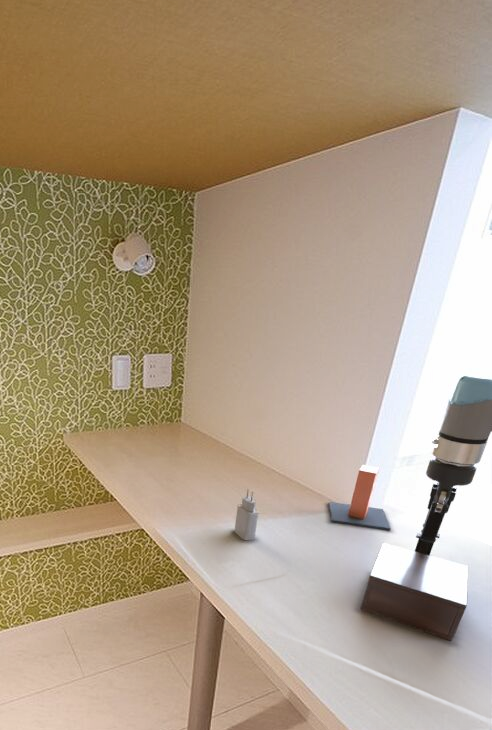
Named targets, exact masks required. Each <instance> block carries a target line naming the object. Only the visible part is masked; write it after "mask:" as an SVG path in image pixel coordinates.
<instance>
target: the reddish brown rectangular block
mask: <svg viewBox="0 0 492 730" xmlns="http://www.w3.org/2000/svg"><path fill="white" fill-rule="evenodd" d="M379 471H380V468H379V467H376V466H370V465H366V464H362V465H361V467H360V469H358V473H357V477H356V480H355V485H354V489H353V492H352V493H353V494H352V497H351V501H350V504H349V505H350V509H349V513H348V516H352V517H356V518H360V519H365V517H366V515H367V513H368V509H369V507H371V501H372V497H373V494H374V491H375V487H376V483H377V479H378V476H379Z"/></svg>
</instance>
